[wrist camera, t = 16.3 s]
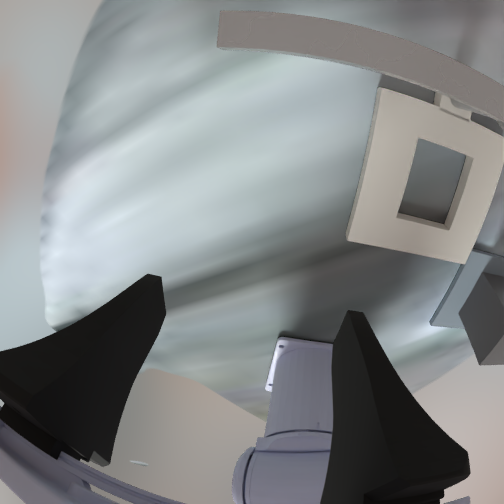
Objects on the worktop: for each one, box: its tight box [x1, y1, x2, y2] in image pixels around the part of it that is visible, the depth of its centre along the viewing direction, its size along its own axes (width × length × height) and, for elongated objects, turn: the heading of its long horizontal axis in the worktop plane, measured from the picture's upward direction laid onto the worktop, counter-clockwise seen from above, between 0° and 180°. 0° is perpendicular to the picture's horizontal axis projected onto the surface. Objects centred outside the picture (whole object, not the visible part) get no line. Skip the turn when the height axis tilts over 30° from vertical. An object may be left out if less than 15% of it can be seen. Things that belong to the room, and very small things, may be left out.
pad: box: [430, 248, 504, 329], centre depth 20 cm, size 8×8×1 cm
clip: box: [217, 11, 504, 130], centre depth 8 cm, size 14×2×1 cm, turn 85°
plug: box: [458, 272, 504, 365], centre depth 17 cm, size 5×4×6 cm
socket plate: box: [345, 87, 504, 264], centre depth 13 cm, size 12×10×6 cm
